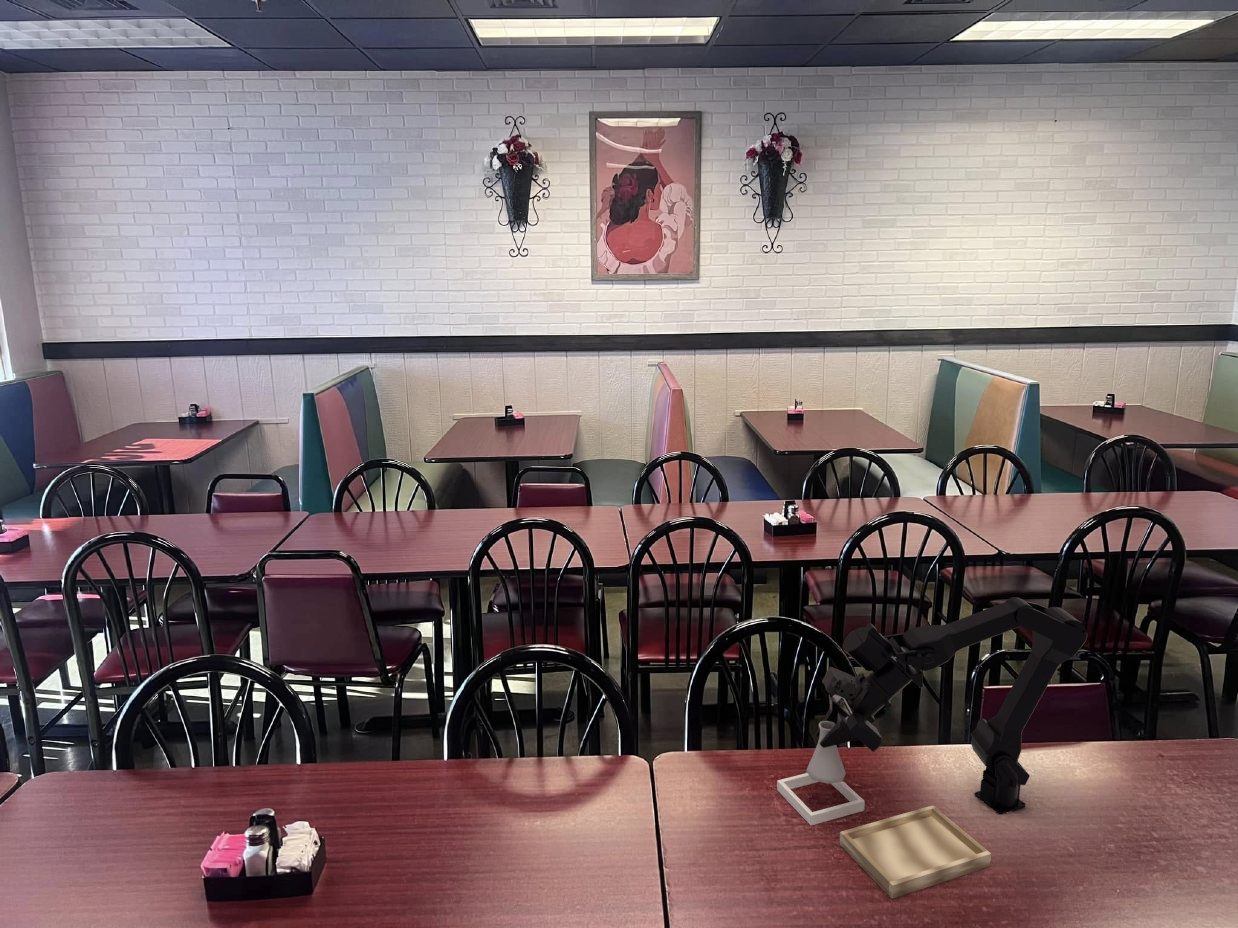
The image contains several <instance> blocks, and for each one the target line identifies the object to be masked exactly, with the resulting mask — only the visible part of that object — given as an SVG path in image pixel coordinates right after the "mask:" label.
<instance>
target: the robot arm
mask: <svg viewBox="0 0 1238 928" xmlns="http://www.w3.org/2000/svg"><path fill="white" fill-rule="evenodd" d="M1020 627H1024V628H1027V629H1029V630H1030V631H1032V634H1031V636H1032V637H1031V638H1032V641H1031V650H1030V653H1029V655H1028V657H1027V658H1026V660H1025V662H1024V664H1023V665H1022V668H1021V670H1019V673H1018V675H1017V677H1016V679H1015V680H1014V683H1012V686H1011V688H1010V689H1009V692H1008V693H1007V695H1006V697H1005V698H1004V700H1003V702H1002V705H1001V706H1000V708H999V710H998V712H997V713H996V715H995V716H993V717H992V718H990V719H988V720H986V719H984V718H983V717H980V718H979V719H978V721H977V724H976V727H975V729H974V730H973V731H972V732H970V734H969V735H970V736H971V740H970V745H971V747H972V751H974V754H976V756H977V757H978V758H979V760H980V761H981V762H982V764H983V765H984V766H985V769H983V771H982V779H981V780H980V790H979V791H975V792H974V797H975V798H977V799H978V800H979V801H980V802H982V803H984V804H985V805H986V806H987V807H989V808H990V809H991V810H992V811H994V812H995V813H996V814H998V815H1004V814H1007V813H1011V812H1013V811H1016V810H1021V809H1023V808H1026V802H1024V801H1023V800H1021V799H1020V794H1021V786H1025V785H1026V784H1027V783H1028V781H1029V779H1030V773H1028V771H1027V770H1026V769H1025V768H1024V766H1023V765H1022V764H1021V763H1020V762H1019V761H1018V760H1019V758H1020V755H1021V753H1022V745H1023V744H1022V739H1023V731H1024V729H1025V727H1026V725H1027V723H1028V721H1029V719H1030V718H1031V716H1032V715H1033V713H1034V711H1035V709H1036V707H1037V706H1038V705H1039V704H1038V703H1039V702H1040V700H1041V699H1042V697H1043V695H1044V693H1045V691H1046V689H1047V687H1048V686H1049V684H1050V682H1051V681H1052V679H1053V676H1054V675H1055V673H1056V671H1057V669H1058V667H1059V666H1061V664H1063V663H1065V662H1066V661H1068V660H1070V659H1072V658H1073V657H1075V656H1076V655H1077V653H1078V652H1079V651H1080V649H1081V648H1082V647H1083V645H1084V644H1085V643H1086V641H1087V638H1088V631H1087V628H1086V626H1085V625H1084V623H1082V622H1081V621H1079V620H1078V619H1077V618H1076V617H1074V616H1073V615H1071V614H1070V613H1069V612H1067V611H1066V610H1064V609H1063V608H1062V607H1057V606H1053V607H1051V606H1050V607H1047V606H1044V605H1040V604H1038V603H1036V602H1032V601H1027V600H1024V599H1022V598H1021V597H1017V596H1016V597H1015V596H1013V597H1009V598H1008V599H1006V601H1004V602H1002V603H999V604H996V605H994V606H991V607H989V608H986V609H984V610H981V611H978V612H976V613H972V614H970V615H968V616H965V617H963V618H960V619H957V620H955V621H952V622H949V623H945V624H927V625H921V626H916V627H913V628H910V629H908V630H906V631H905V632H902V633H895V634H890V635H889V634H888V635H882V634H881V633H880V632H879V631H878V630H877V628H876V627H875V625H873V624H872V623H868V624H867V625H866V626H861V627H858V628H856V629H853V630H852V631H850V632H848V634H847V636H846V637H845V639H844V641H843V643H842V649H843V651H844V652H846V654H847V655H849V657H851V658H852V659H853V660H854V661H855V662H856V663H857V664H859V665H860V666H861V668H862V669H864V670H865V671H868V672H869V673H868V674H865V673H864V672H862V673H861V672H860V673H859V674H857V676H854V675H853V676H852V675H851V674H849V673H847V672H845V671H842V670H840V669H837V668H835V667H833V666H829V667H828V669H827V671H826V673H825V675H824V676H823V679H822V681H821V683H822V684H823V685H824V687H825V691H826V692H827V693H828V699H829V708H828V711H827V713H826V715H825V717H824V718H823V720H822V721H830V722H834V723H835V726H834V727H833V728H832V729H831V730H830V731H829V732H828V734H827V735H826V736H825V737H824V738H823V739H822V741H821V742H820V745H821V746H822V747H823V748H826V747H830V746H834V745H836V746H837V745H841V744H844V743H845V744H846V743H849V742H858V741H860V742H862V744H863V745H865V746H866V748H867V749H869V750H870V751H871V752H873V753H875V752H876V751H877V750H878V749H879V748H880V747H881V746H883V737H882V736H881V733H880V732H879V730H878V729H877V727H876V726H875V725H873V723H874V722H875V721H876V719H875V717H874V716H875V714H877V712H879V711H880V710H881V709H882V708H883V707H884V706H885V707H886V708H887V709H889V708H890V707H893V704H892V703H891V700H892V699H893V698H894V697H895V696H897V694H899V693H900V692H901V691H902V690H903V689H904V688H906V687H907V686H908V685H909V684H910V683H911V682H913V683H914V684H915V685H916V686H917V687H918V688H921V689H922V688H923V687H924V684H923V682H924V680H923V676H924V672H928V671H934V670H935V669H936V668H938V667H940V666H942V665H943V664H945V663H947V662H949V661H950V659H952V658H953V657H954V656H955V654H956V653H957V652H960V651H961V650H962V649H965V648H967V647H971V646H973V645H976V644H979V643H980V642H983V641H986V640H988V639H991V638H994V637H996V636H1000V635H1002V634H1005V633H1007V632H1009V631H1012V630H1014V629H1017V628H1020ZM819 736H820V728H819V727H818V729H817V731H816V733H815V737H817V738H818V739H819Z"/></svg>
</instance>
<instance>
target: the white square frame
mask: <svg viewBox="0 0 1238 928" xmlns="http://www.w3.org/2000/svg"><path fill="white" fill-rule="evenodd" d="M816 783H820V782H819V781H815V780H812V779H811V777H810V776H809V774H808V773H807V772H805V773H802V774H798V775H795V776H794V775H793V776H790V777H786V778H782V779H778V780H776V790H777V791H778V793H780V795H781V796H782V797H783V798H784V799H785V800H786V802H788V803H789V804H790V805H791V806H792V807H793V809H795V810H796V811H797V813H798V814H799V815H800V816H801V817H802V818H803V819H804V820H805V821H806V823H808V824H809V825H810V826H814V825H818V824H821V823H825V822H828V821H833V820H836V819H839V818H843V817H846V816H850V815H853V814H857V813H861V812H864V811H865V803H866V802H865V800H864V799H863V798H862V797H861V796H860V795H859V794H858V793H857V792H855V791H854V790H853V789H852V788H851V787H850V786H849V785H848V784H847V783H846V782H845V781H843V782H837V783H830V785H832V786H833V788H835V789H836V790H837V791H838V792H839V793H840V794H841V795H843V796H844V798H845V799H847V800H848V801H849V802H845V803H842V804H837V805H835V806H831V807H827V808H823V809H820V810H819V809H818V810H816V811H812V809H810V808H809V807H808V806H807V805H806V804H805V803H804V802H803V800H801V799H800V797H798V796H797V795H796V793H795V792H793V791H792V790H793V789H797V788H800V787H804V786H807V785H812V784H816Z"/></svg>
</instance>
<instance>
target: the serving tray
mask: <svg viewBox="0 0 1238 928" xmlns="http://www.w3.org/2000/svg"><path fill="white" fill-rule="evenodd" d="M839 846H840V847H841V848H843V850H845V852H846V853H847V854H848V855H849V856H850V857H851V858H852V859H853V860H854V861H855V862H856V864H858V865H859V866H860V868H862V869H863V871H864V872H865V873H867V875H868V876H869V877H870V878H871V879H872V880H873V881H874V882H875V883H876V884H877V885H878V886H879V887H880V889H882V890H883V891H884V892H885V893H886V894H887V896H888V897H890V898H891V900H893V899H896V898H900V897H902V896H905V895H907V894H911V893H914V892H918V891H921V890H923V889H927V888H929V887H932V886H936V885H939V884H941V883H944V882H949V881H951V880H953V879H956V878H960V877H963V876H965V875H969V874H972V873H975V872H977V871H981V870H984V869H986V868H989V867H991V859H992V853H991V852H990V851H989V850H987V849H986V848H985V847H984V846H983V845H981V844H980V843H979V842H978V841H976V840H975V839H974V838H973V837H971V835H969V833H966V831H964V830H963V829H962V828H961V827H960V826H958V825H957V824H956V823H955V822H953V820H951V819H950V818H948V817H947V816H946V815H945V814H944V813H943V812H941V810H939V809H938V808H937V807H936V806H934V805H933V804H932V805H928V806H925V807H922V808H918V809H915V810H912V811H908V812H904V813H901V814H897V815H894V816H891V817H887V818H884V819H880V820H877V821H873V822H871V823H867V824H862V825H858V826H856V827H853V828H849V829H846V830H842V831H840V832H839Z"/></svg>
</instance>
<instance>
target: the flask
mask: <svg viewBox="0 0 1238 928" xmlns="http://www.w3.org/2000/svg"><path fill="white" fill-rule="evenodd" d="M834 726H835V723H834V722H830V721H823V720H822V721H819V723H818V729H819V728H820V736H819V738H818V741H817V745H816V747H815V749H814V752H813V755H812V756H811V758H810V761H809V763H808V766H807V768H806V771H805V772H806V773H808V774H809V776H810V777H811V779H812V780H815V781H819V782H818V783H824V784H828V785H829V784H831V783H837V782H844V779H845V777H846V774H847V772H846V770H845V768H844V767H845V766H844V763H843V762H842V758H841V755H840V753H839V749H838V746H837V745H834V746H830V747H826V748H823V747H822V746H821V745H820V742H821V741H822V739H823V738H824V737H825V736H826V735H827V734H828V732H829V731H830V730H831V729H832V728H833V727H834Z"/></svg>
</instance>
